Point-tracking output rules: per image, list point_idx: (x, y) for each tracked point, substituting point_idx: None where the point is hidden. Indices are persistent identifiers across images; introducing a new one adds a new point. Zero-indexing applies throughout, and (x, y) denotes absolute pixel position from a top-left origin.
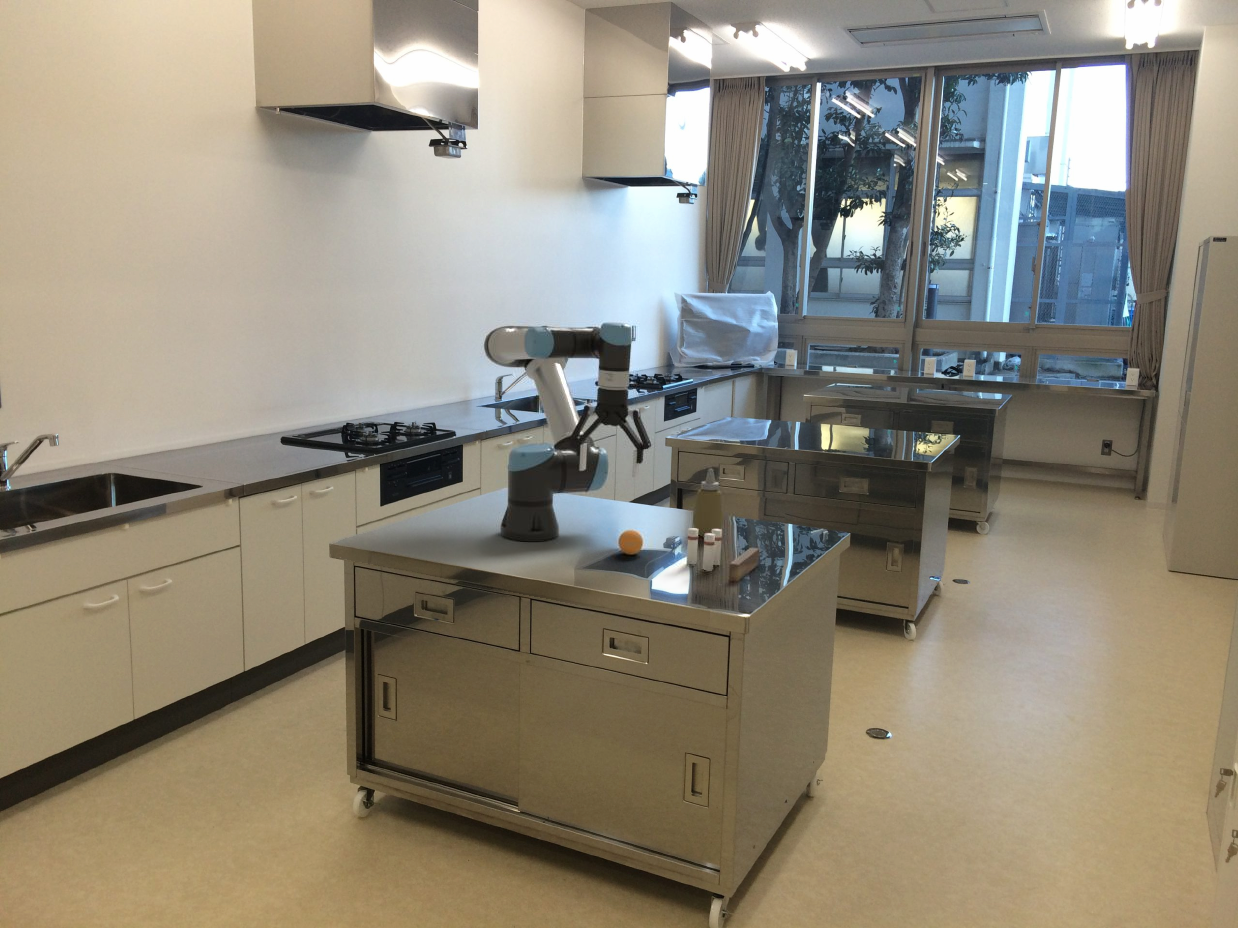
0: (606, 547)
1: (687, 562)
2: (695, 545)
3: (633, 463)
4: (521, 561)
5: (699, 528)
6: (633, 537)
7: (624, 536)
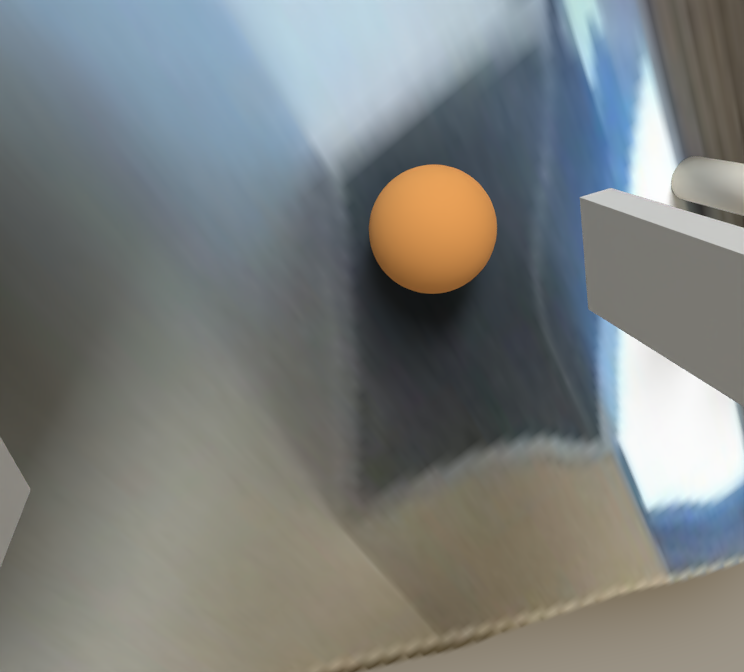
0: (258, 187)
1: (684, 199)
2: None
3: (693, 368)
4: (120, 592)
5: None
6: (476, 273)
7: (432, 289)
